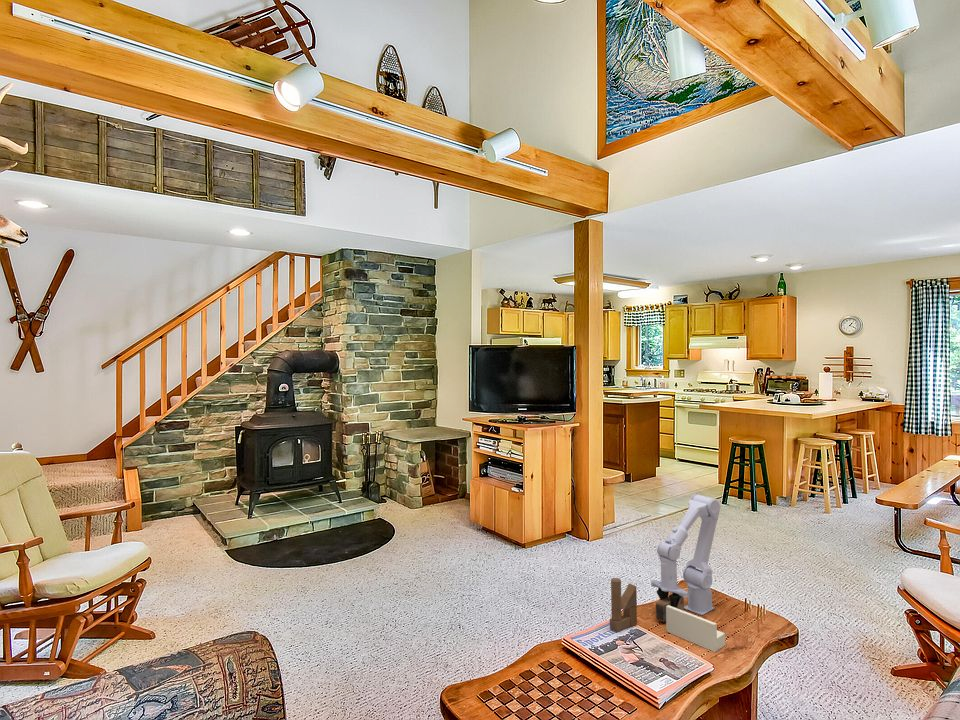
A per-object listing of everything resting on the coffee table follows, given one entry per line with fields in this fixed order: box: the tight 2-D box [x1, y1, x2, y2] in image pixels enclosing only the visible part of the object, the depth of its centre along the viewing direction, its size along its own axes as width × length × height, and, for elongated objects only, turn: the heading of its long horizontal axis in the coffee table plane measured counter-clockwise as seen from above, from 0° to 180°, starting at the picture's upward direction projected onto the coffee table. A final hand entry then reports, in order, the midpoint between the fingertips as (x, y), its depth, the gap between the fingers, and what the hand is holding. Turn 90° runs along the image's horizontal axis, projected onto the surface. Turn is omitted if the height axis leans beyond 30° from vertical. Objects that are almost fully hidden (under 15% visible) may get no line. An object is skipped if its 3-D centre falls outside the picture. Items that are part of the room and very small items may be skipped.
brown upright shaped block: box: [609, 577, 638, 633], centre depth 194 cm, size 4×11×18 cm, turn 122°
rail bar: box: [655, 596, 685, 623], centre depth 200 cm, size 14×3×6 cm, turn 128°
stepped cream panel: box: [665, 605, 726, 653], centre depth 185 cm, size 7×18×9 cm, turn 38°
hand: (669, 610), depth 200 cm, fingers closed on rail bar, 3 cm apart
